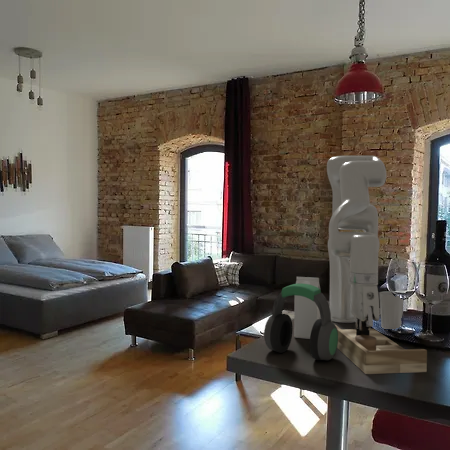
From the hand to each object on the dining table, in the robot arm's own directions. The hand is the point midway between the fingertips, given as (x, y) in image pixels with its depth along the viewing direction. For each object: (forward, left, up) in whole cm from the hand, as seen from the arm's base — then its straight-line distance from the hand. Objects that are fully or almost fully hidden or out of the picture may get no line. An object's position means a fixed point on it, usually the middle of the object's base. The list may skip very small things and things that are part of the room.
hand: (362, 342), depth 128 cm
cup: (-25, +20, -4) cm, 32 cm away
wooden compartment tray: (-2, +3, -3) cm, 5 cm away
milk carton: (-19, -11, -4) cm, 22 cm away
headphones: (-1, -18, -4) cm, 18 cm away
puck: (+5, -1, -1) cm, 5 cm away
